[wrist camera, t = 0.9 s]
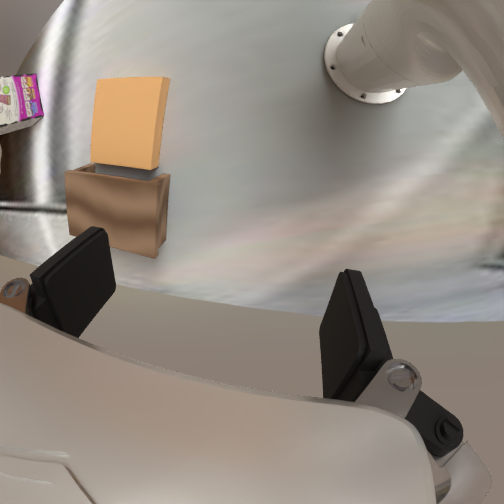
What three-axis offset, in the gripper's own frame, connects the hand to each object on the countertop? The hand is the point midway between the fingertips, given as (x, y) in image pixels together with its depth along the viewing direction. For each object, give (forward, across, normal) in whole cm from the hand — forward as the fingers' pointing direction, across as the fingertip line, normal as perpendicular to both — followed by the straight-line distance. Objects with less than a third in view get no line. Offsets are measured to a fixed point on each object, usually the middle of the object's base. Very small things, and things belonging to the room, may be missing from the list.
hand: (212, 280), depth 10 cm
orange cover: (+30, +22, -4) cm, 38 cm away
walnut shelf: (+30, +23, +9) cm, 39 cm away
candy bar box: (+31, +49, -11) cm, 59 cm away
